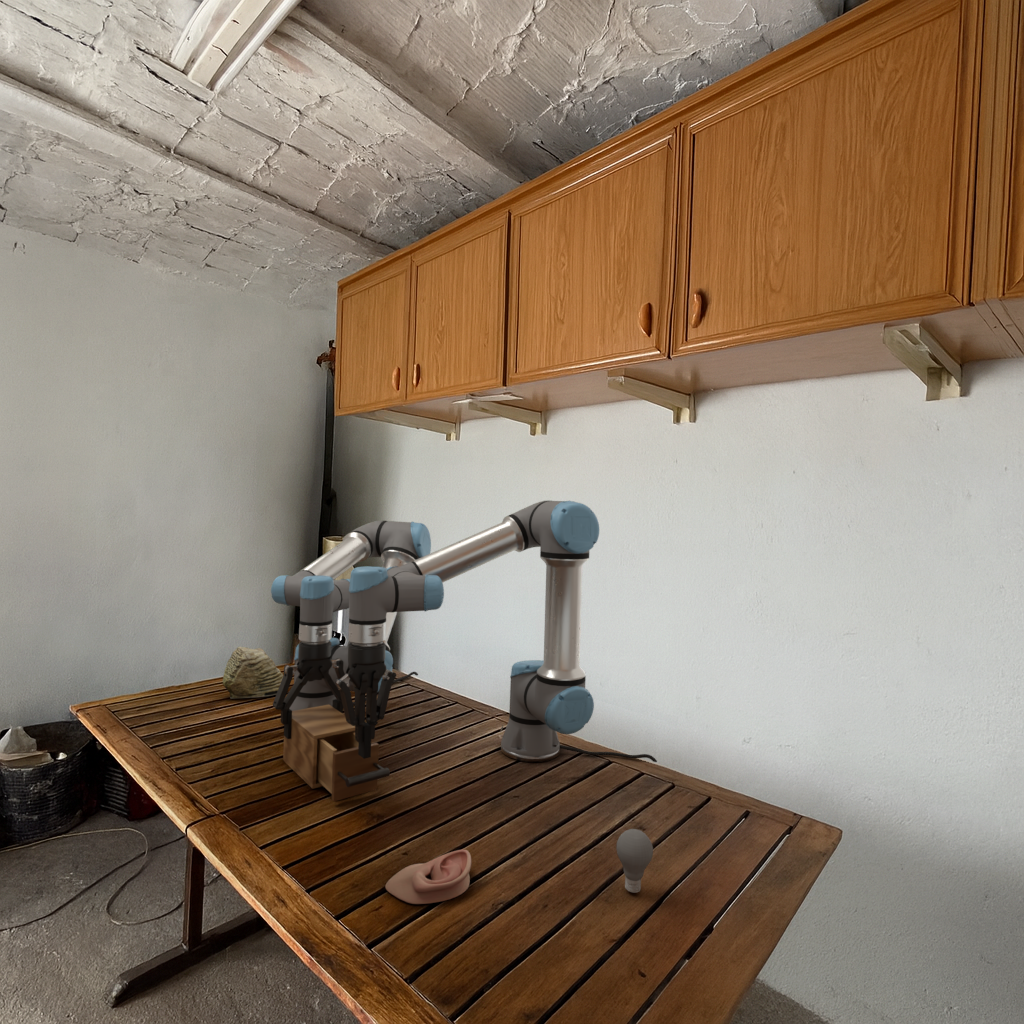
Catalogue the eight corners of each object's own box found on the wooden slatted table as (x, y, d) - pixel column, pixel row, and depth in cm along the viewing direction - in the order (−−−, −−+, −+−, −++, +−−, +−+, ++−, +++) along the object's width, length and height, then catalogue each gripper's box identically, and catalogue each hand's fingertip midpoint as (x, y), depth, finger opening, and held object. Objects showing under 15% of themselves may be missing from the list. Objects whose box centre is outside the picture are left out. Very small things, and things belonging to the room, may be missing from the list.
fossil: (218, 695, 195) (220, 647, 195) (278, 685, 208) (279, 640, 207) (228, 703, 189) (230, 653, 188) (289, 692, 201) (290, 645, 201)
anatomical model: (378, 873, 101) (404, 836, 112) (377, 898, 101) (403, 858, 112) (458, 887, 98) (477, 848, 109) (457, 912, 98) (476, 870, 109)
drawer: (390, 800, 131) (392, 753, 131) (346, 813, 125) (347, 764, 125) (343, 762, 149) (345, 721, 149) (302, 772, 143) (304, 729, 143)
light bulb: (610, 879, 108) (613, 822, 108) (644, 879, 109) (647, 822, 109) (619, 902, 102) (622, 840, 102) (655, 901, 103) (658, 840, 103)
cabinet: (359, 776, 144) (361, 725, 144) (312, 788, 137) (314, 735, 137) (327, 750, 158) (328, 704, 158) (283, 760, 151) (284, 712, 151)
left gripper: (270, 650, 141) (267, 747, 141) (367, 638, 156) (364, 727, 156) (259, 643, 147) (256, 737, 147) (354, 633, 162) (351, 718, 162)
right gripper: (344, 650, 123) (342, 770, 124) (404, 641, 131) (401, 754, 132) (329, 642, 129) (326, 757, 130) (386, 635, 137) (384, 742, 138)
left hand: (312, 732), depth 152 cm, fingers closed on cabinet, 11 cm apart
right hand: (364, 755), depth 131 cm, fingers closed
